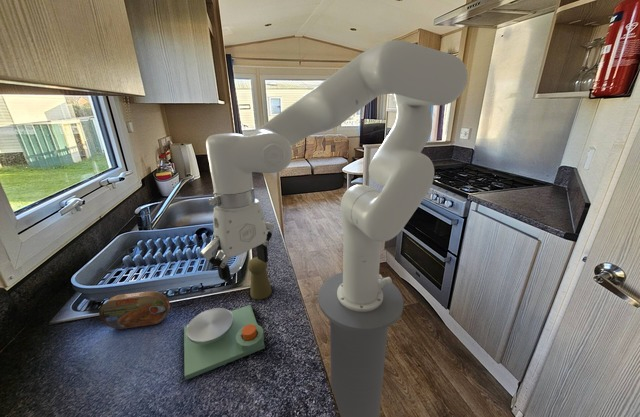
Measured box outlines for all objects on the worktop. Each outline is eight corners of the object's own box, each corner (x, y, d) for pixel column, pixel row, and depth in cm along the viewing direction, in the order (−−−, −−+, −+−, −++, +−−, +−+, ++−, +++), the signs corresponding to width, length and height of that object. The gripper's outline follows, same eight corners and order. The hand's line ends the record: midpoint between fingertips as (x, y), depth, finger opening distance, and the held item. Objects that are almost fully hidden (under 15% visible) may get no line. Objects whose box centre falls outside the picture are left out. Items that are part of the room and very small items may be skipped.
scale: (252, 307, 70) (251, 298, 69) (267, 349, 58) (266, 338, 57) (185, 330, 63) (182, 320, 62) (185, 382, 51) (182, 371, 50)
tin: (104, 331, 64) (92, 303, 60) (112, 321, 66) (101, 294, 63) (170, 322, 66) (162, 295, 62) (174, 313, 68) (167, 287, 65)
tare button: (254, 328, 60) (254, 322, 59) (258, 337, 58) (257, 331, 57) (241, 333, 59) (240, 327, 58) (244, 343, 56) (243, 337, 56)
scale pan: (230, 305, 67) (229, 302, 66) (236, 333, 58) (236, 330, 58) (186, 319, 63) (186, 316, 62) (187, 351, 54) (186, 348, 54)
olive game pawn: (265, 301, 72) (260, 267, 68) (246, 297, 74) (241, 263, 70) (275, 287, 77) (272, 255, 73) (257, 284, 79) (253, 252, 75)
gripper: (202, 215, 44) (218, 297, 50) (280, 190, 56) (285, 259, 62) (183, 205, 49) (200, 281, 55) (258, 184, 61) (265, 249, 67)
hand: (245, 269), depth 59 cm, fingers open, 9 cm apart
